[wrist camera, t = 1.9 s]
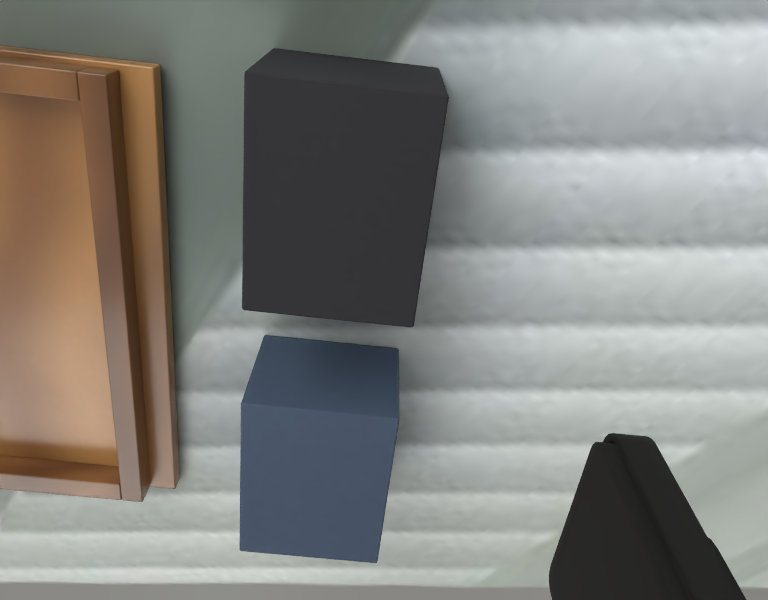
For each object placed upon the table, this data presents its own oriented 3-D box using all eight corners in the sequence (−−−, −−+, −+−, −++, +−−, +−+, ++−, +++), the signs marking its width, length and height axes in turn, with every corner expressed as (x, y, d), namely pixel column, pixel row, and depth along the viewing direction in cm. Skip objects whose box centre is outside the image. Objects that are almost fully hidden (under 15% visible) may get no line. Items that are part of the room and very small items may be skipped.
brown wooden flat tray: (160, 63, 24) (142, 73, 22) (180, 478, 33) (168, 507, 31) (-181, 23, 23) (-228, 29, 22) (-63, 455, 33) (-89, 484, 31)
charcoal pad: (439, 67, 24) (449, 95, 19) (410, 267, 27) (413, 328, 23) (272, 47, 23) (244, 70, 19) (266, 251, 27) (241, 310, 23)
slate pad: (398, 347, 29) (399, 418, 25) (379, 481, 33) (377, 563, 29) (264, 334, 29) (240, 403, 25) (260, 470, 33) (239, 551, 28)
